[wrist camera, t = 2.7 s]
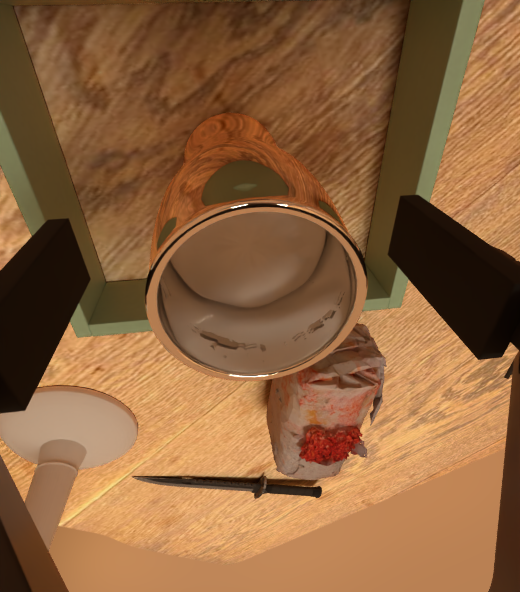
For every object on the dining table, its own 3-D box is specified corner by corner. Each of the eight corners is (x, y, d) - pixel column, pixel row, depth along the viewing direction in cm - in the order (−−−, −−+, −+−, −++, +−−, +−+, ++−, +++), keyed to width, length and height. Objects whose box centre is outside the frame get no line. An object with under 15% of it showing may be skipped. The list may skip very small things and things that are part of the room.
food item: (275, 306, 30) (300, 402, 22) (364, 306, 31) (419, 398, 23) (259, 407, 37) (273, 505, 29) (330, 405, 39) (362, 498, 31)
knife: (128, 495, 43) (130, 478, 40) (132, 479, 45) (133, 462, 42) (313, 506, 48) (327, 492, 45) (311, 492, 50) (324, 477, 47)
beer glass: (204, 230, 25) (200, 408, 13) (155, 129, 21) (81, 251, 9) (297, 195, 24) (387, 348, 12) (266, 84, 20) (355, 146, 8)
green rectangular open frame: (-19, -22, 16) (-95, -44, 12) (433, -27, 18) (498, -47, 14) (96, 294, 27) (76, 338, 23) (373, 270, 29) (401, 307, 25)
